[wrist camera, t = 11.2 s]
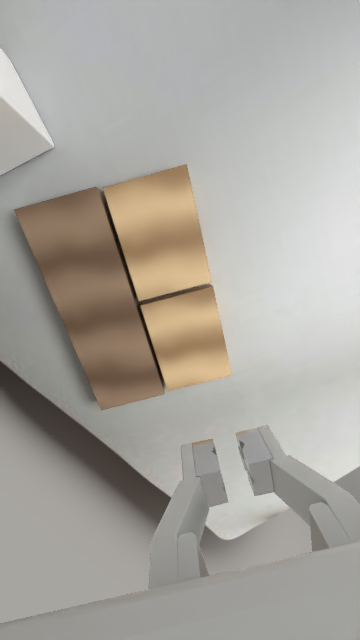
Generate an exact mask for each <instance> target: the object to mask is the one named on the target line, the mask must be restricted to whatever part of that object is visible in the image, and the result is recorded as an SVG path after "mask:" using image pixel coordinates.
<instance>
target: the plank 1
mask: <svg viewBox="0 0 360 640" xmlns="http://www.w3.org/2000/svg"><path fill="white" fill-rule="evenodd" d="M103 191H104V194H105V197H106V200H107V203H108V206H109V209H110V213H111V216H112V219H113V222H114V225H115V228H116V231H117V234H118V238H119V241H120V244H121V247H122V250H123V253H124V256H125V259H126V263H127V266H128V269H129V272H130V275H131V278H132V281H133V284H134V288H135V291H136V294H137V297H138V300H139V301H142V300H146V299H150V298H153V297H157V296H161V295H165V294H169V293H172V292H176V291H180V290H184V289H187V288H191V287H195V286H199V285H203V284H206V283H210V282H212V279H211V275H210V270H209V266H208V261H207V256H206V252H205V247H204V242H203V238H202V233H201V228H200V224H199V219H198V214H197V210H196V205H195V200H194V196H193V191H192V187H191V182H190V177H189V173H188V168H187V164H186V165H182V166H179V167H175V168H172V169H168V170H165V171H161V172H158V173H154V174H151V175H147V176H144V177H140V178H137V179H133V180H130V181H126V182H123V183H119V184H116V185H112V186H109V187H105V188H103Z"/></svg>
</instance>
